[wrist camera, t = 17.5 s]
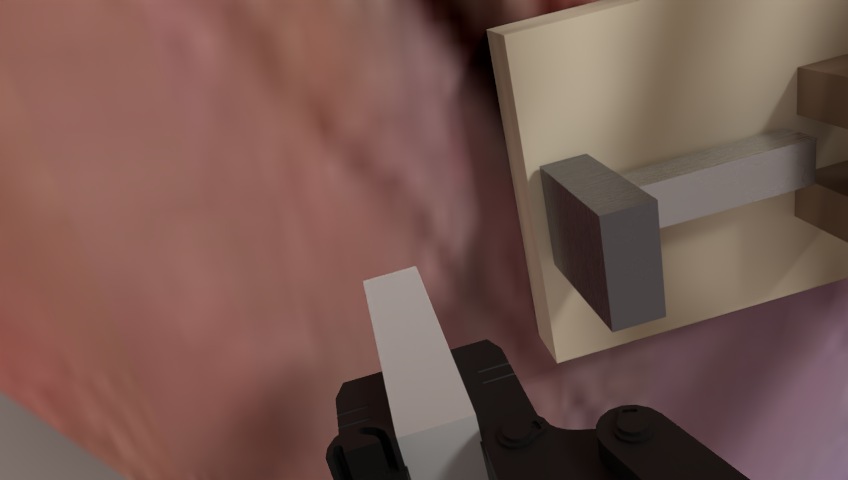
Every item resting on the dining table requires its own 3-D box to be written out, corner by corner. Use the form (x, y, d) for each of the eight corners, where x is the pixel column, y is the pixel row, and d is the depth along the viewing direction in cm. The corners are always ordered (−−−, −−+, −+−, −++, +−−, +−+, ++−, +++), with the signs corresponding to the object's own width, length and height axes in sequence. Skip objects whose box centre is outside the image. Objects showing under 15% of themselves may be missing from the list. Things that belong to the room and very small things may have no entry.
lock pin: (787, 99, 22) (904, 130, 17) (785, 198, 23) (893, 250, 19) (539, 166, 21) (599, 216, 17) (554, 264, 22) (612, 332, 18)
